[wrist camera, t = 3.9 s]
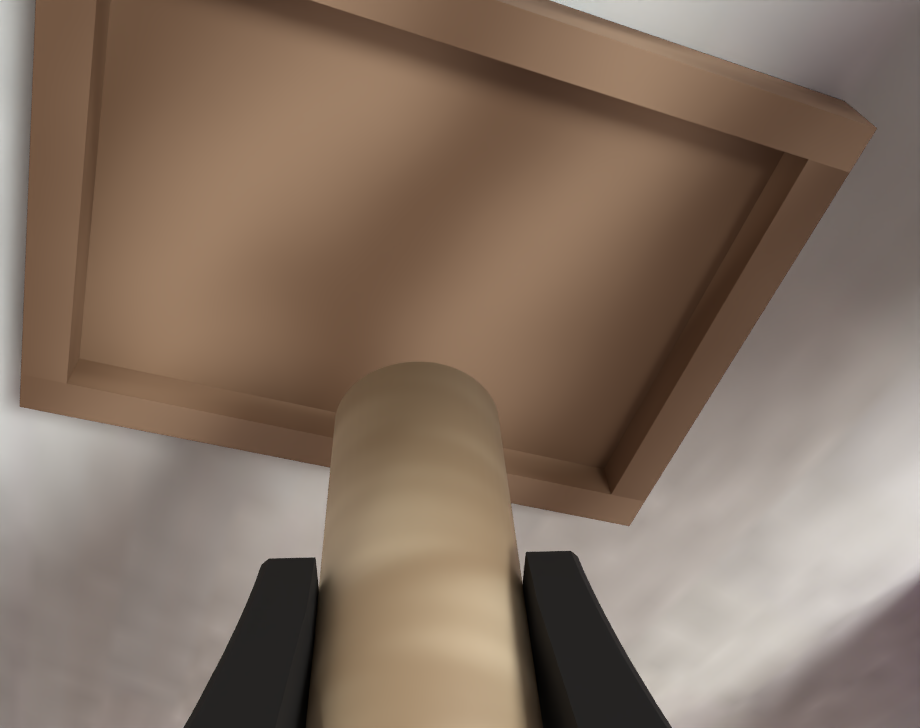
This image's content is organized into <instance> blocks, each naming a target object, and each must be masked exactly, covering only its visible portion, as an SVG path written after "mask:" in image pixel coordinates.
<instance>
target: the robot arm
mask: <svg viewBox="0 0 920 728" xmlns="http://www.w3.org/2000/svg"><path fill="white" fill-rule="evenodd" d="M523 592H524V599H525V606H526V613H527V620H528V627H529V634H530V641H531V648H532V654H533V661H534V668H535V675H536V682H537V689H538V696H539V703H540V710H541V717H542V724H543V728H672V727H671V726H670V724H669V722H668V721H667V719H666V718H665V716H664V715H663V713H662V712H661V710H660V708H659V707H658V705H657V704H656V702H655V700H654V699H653V697H652V695H651V694H650V692H649V691H648V689H647V687H646V686H645V684H644V682H643V681H642V679H641V677H640V676H639V674H638V672H637V671H636V669H635V667H634V666H633V664H632V662H631V661H630V659H629V657H628V656H627V654H626V652H625V650H624V649H623V647H622V645H621V643H620V641H619V640H618V638H617V636H616V634H615V632H614V630H613V629H612V627H611V625H610V623H609V621H608V619H607V617H606V616H605V614H604V612H603V610H602V608H601V606H600V604H599V602H598V600H597V598H596V596H595V594H594V592H593V590H592V588H591V586H590V583H589V581H588V579H587V577H586V575H585V573H584V570H583V568H582V566H581V563H580V561H579V558H578V557H577V556H576V555H575V554H574V553H573V552H571V551H549V552H526V556H525V566H524V576H523ZM318 595H319V586H318V577H317V568H316V559H315V558H277V559H268V560H267V561H266V562H264V563H263V564H262V565H261V568H260V570H259V573H258V576H257V579H256V582H255V584H254V587H253V589H252V592H251V594H250V596H249V599H248V601H247V604H246V606H245V608H244V611H243V613H242V615H241V617H240V620H239V622H238V624H237V626H236V628H235V630H234V632H233V635H232V637H231V639H230V641H229V643H228V645H227V647H226V649H225V651H224V653H223V655H222V657H221V659H220V661H219V663H218V665H217V667H216V669H215V671H214V672H213V674H212V676H211V678H210V680H209V682H208V684H207V686H206V688H205V690H204V691H203V693H202V695H201V697H200V699H199V701H198V703H197V705H196V707H195V708H194V710H193V712H192V714H191V716H190V717H189V719H188V721H187V723H186V724H185V726H184V728H306V719H307V708H308V698H309V687H310V677H311V667H312V657H313V647H314V637H315V626H316V616H317V605H318Z"/></svg>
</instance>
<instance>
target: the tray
mask: <svg viewBox="0 0 920 728" xmlns="http://www.w3.org/2000/svg"><path fill="white" fill-rule="evenodd" d="M876 129H877V128H876V127H875V126H874V125H873V124H871V123H870V122H869V121H868V120H867V119H865V118H864V117H863V116H862V115H861V114H859V113H858V112H857V111H856V110H855V109H853V108H852V107H851V106H850V105H848V104H847V103H846V102H845V101H843V100H840V99H837V98H834V97H831V96H828V95H825V94H822V93H819V92H816V91H813V90H810V89H807V88H805V87H802V86H799V85H796V84H793V83H790V82H787V81H784V80H781V79H778V78H775V77H772V76H769V75H766V74H764V73H761V72H758V71H755V70H752V69H749V68H746V67H743V66H740V65H737V64H734V63H731V62H728V61H725V60H723V59H720V58H717V57H714V56H711V55H708V54H705V53H702V52H699V51H696V50H693V49H690V48H687V47H684V46H682V45H679V44H676V43H673V42H670V41H667V40H664V39H661V38H658V37H655V36H652V35H649V34H646V33H643V32H641V31H638V30H635V29H632V28H629V27H626V26H623V25H620V24H617V23H614V22H611V21H608V20H605V19H602V18H600V17H597V16H594V15H591V14H588V13H585V12H582V11H579V10H576V9H573V8H570V7H567V6H564V5H561V4H559V3H556V2H553V1H550V0H36V8H35V33H34V58H33V83H32V108H31V134H30V159H29V184H28V209H27V234H26V260H25V285H24V310H23V335H22V360H21V386H20V407H24V408H29V409H34V410H39V411H44V412H50V413H55V414H60V415H65V416H70V417H75V418H80V419H85V420H90V421H96V422H101V423H106V424H111V425H116V426H121V427H126V428H131V429H136V430H141V431H147V432H152V433H157V434H162V435H167V436H172V437H177V438H182V439H187V440H193V441H198V442H203V443H208V444H213V445H218V446H223V447H228V448H233V449H238V450H244V451H249V452H254V453H259V454H264V455H269V456H274V457H279V458H284V459H289V460H295V461H300V462H305V463H310V464H315V465H320V466H325V467H331V456H332V446H333V435H334V425H335V416H336V412H337V409H338V406H339V404H340V402H341V400H342V398H343V397H344V396H345V394H346V393H347V391H348V390H349V389H350V388H351V387H352V386H353V385H354V384H355V383H357V382H358V381H359V380H360V379H362V378H363V377H365V376H366V375H368V374H369V373H372V372H374V371H376V370H378V369H380V368H383V367H386V366H389V365H393V364H398V363H404V362H433V363H438V364H443V365H447V366H450V367H453V368H456V369H458V370H460V371H462V372H464V373H466V374H468V375H469V376H471V377H473V378H474V379H475V380H477V381H478V382H479V383H480V384H481V385H482V386H483V387H484V388H485V389H486V390H487V391H488V393H489V394H490V396H491V397H492V399H493V401H494V403H495V405H496V408H497V412H498V417H499V424H500V431H501V438H502V445H503V452H504V459H505V466H506V473H507V480H508V487H509V494H510V501H511V503H514V504H519V505H524V506H529V507H534V508H540V509H545V510H550V511H555V512H560V513H565V514H570V515H575V516H580V517H586V518H591V519H596V520H601V521H606V522H611V523H616V524H621V525H626V526H630V524H631V522H632V521H633V519H634V518H635V516H636V514H637V513H638V511H639V510H640V508H641V506H642V505H643V503H644V502H645V500H646V498H647V497H648V495H649V494H650V492H651V490H652V489H653V487H654V486H655V484H656V482H657V481H658V479H659V478H660V476H661V474H662V473H663V471H664V470H665V468H666V466H667V465H668V463H669V462H670V460H671V458H672V457H673V455H674V453H675V452H676V450H677V449H678V447H679V445H680V444H681V442H682V441H683V439H684V437H685V436H686V434H687V433H688V431H689V429H690V428H691V426H692V425H693V423H694V421H695V420H696V418H697V417H698V415H699V413H700V412H701V410H702V409H703V407H704V405H705V404H706V402H707V401H708V399H709V397H710V396H711V394H712V392H713V391H714V389H715V388H716V386H717V384H718V383H719V381H720V380H721V378H722V376H723V375H724V373H725V372H726V370H727V368H728V367H729V365H730V364H731V362H732V360H733V359H734V357H735V356H736V354H737V352H738V351H739V349H740V348H741V346H742V344H743V343H744V341H745V340H746V338H747V336H748V335H749V333H750V332H751V330H752V328H753V327H754V325H755V323H756V322H757V320H758V319H759V317H760V315H761V314H762V312H763V311H764V309H765V307H766V306H767V304H768V303H769V301H770V299H771V298H772V296H773V295H774V293H775V291H776V290H777V288H778V287H779V285H780V283H781V282H782V280H783V279H784V277H785V275H786V274H787V272H788V271H789V269H790V267H791V266H792V264H793V263H794V261H795V259H796V258H797V256H798V254H799V253H800V251H801V250H802V248H803V246H804V245H805V243H806V242H807V240H808V238H809V237H810V235H811V234H812V232H813V230H814V229H815V227H816V226H817V224H818V222H819V221H820V219H821V218H822V216H823V214H824V213H825V211H826V210H827V208H828V206H829V205H830V203H831V202H832V200H833V198H834V197H835V195H836V194H837V192H838V190H839V189H840V187H841V185H842V184H843V182H844V181H845V179H846V177H847V176H848V174H849V173H850V171H851V169H852V168H853V166H854V165H855V163H856V161H857V160H858V158H859V157H860V155H861V153H862V152H863V150H864V149H865V147H866V145H867V144H868V142H869V141H870V139H871V137H872V136H873V134H874V133H875V131H876Z"/></svg>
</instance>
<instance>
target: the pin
mask: <svg viewBox="0 0 920 728" xmlns="http://www.w3.org/2000/svg"><path fill="white" fill-rule="evenodd" d="M306 728H543V724H542V717H541V710H540V703H539V696H538V689H537V682H536V675H535V668H534V661H533V654H532V648H531V641H530V634H529V627H528V620H527V613H526V606H525V599H524V592H523V584H522V577H521V570H520V563H519V556H518V549H517V542H516V535H515V529H514V522H513V515H512V508H511V501H510V494H509V487H508V480H507V473H506V466H505V459H504V452H503V445H502V438H501V431H500V424H499V417H498V412H497V408H496V405H495V403H494V401H493V399H492V397H491V396H490V394H489V393H488V391H487V390H486V389H485V388H484V387H483V386H482V385H481V384H480V383H479V382H478V381H477V380H475V379H474V378H473V377H471V376H469V375H468V374H466V373H464V372H462V371H460V370H458V369H456V368H453V367H450V366H447V365H443V364H438V363H433V362H404V363H398V364H393V365H389V366H386V367H383V368H380V369H378V370H376V371H374V372H372V373H369V374H368V375H366V376H365V377H363V378H362V379H360V380H359V381H358V382H357V383H355V384H354V385H353V386H352V387H351V388H350V389H349V390H348V391H347V393H346V394H345V396H344V397H343V398H342V400H341V402H340V404H339V406H338V409H337V412H336V416H335V425H334V435H333V446H332V456H331V467H330V477H329V488H328V498H327V509H326V519H325V530H324V540H323V551H322V561H321V572H320V582H319V595H318V605H317V616H316V626H315V637H314V647H313V657H312V667H311V677H310V687H309V698H308V708H307V719H306Z"/></svg>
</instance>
